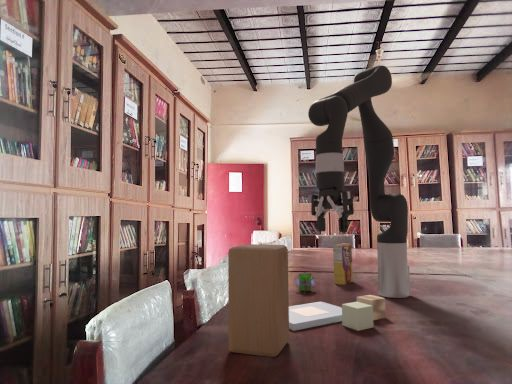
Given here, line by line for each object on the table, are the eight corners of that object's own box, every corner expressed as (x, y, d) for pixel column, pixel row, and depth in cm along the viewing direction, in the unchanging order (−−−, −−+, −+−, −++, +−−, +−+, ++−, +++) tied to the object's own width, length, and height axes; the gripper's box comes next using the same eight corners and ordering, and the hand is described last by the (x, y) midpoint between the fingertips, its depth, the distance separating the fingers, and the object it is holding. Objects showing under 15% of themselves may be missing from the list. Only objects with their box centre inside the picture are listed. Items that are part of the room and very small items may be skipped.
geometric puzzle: (317, 287, 121) (314, 266, 127) (296, 287, 122) (295, 266, 127) (314, 297, 127) (312, 276, 132) (295, 297, 127) (293, 276, 132)
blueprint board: (320, 306, 104) (320, 301, 104) (357, 318, 92) (356, 311, 92) (261, 316, 94) (261, 310, 94) (293, 330, 82) (293, 323, 82)
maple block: (370, 313, 97) (369, 294, 97) (385, 318, 93) (385, 298, 93) (357, 316, 94) (356, 296, 95) (372, 320, 90) (371, 300, 90)
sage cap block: (357, 322, 89) (356, 301, 89) (373, 327, 85) (372, 305, 85) (342, 325, 86) (341, 304, 87) (358, 331, 82) (357, 308, 82)
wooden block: (290, 341, 75) (288, 244, 76) (277, 359, 66) (275, 248, 67) (245, 337, 78) (244, 243, 80) (226, 353, 69) (226, 247, 70)
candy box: (343, 280, 147) (342, 243, 148) (353, 281, 145) (352, 243, 146) (333, 284, 140) (332, 244, 142) (343, 285, 138) (342, 244, 139)
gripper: (359, 168, 93) (362, 232, 92) (323, 174, 106) (325, 230, 105) (337, 167, 90) (339, 233, 89) (302, 173, 102) (304, 231, 101)
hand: (332, 231), depth 97 cm, fingers open, 8 cm apart
